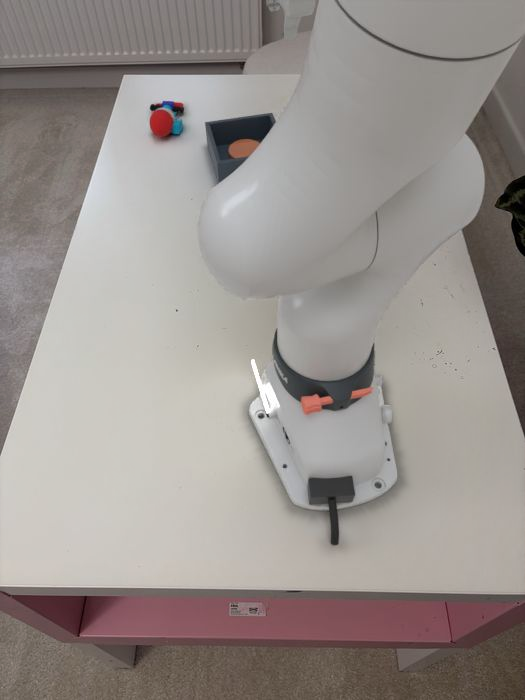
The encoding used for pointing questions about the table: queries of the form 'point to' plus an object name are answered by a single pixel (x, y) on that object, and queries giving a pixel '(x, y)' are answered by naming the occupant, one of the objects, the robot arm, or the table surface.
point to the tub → (234, 139)
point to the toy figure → (166, 118)
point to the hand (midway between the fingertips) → (281, 23)
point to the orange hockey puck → (242, 148)
